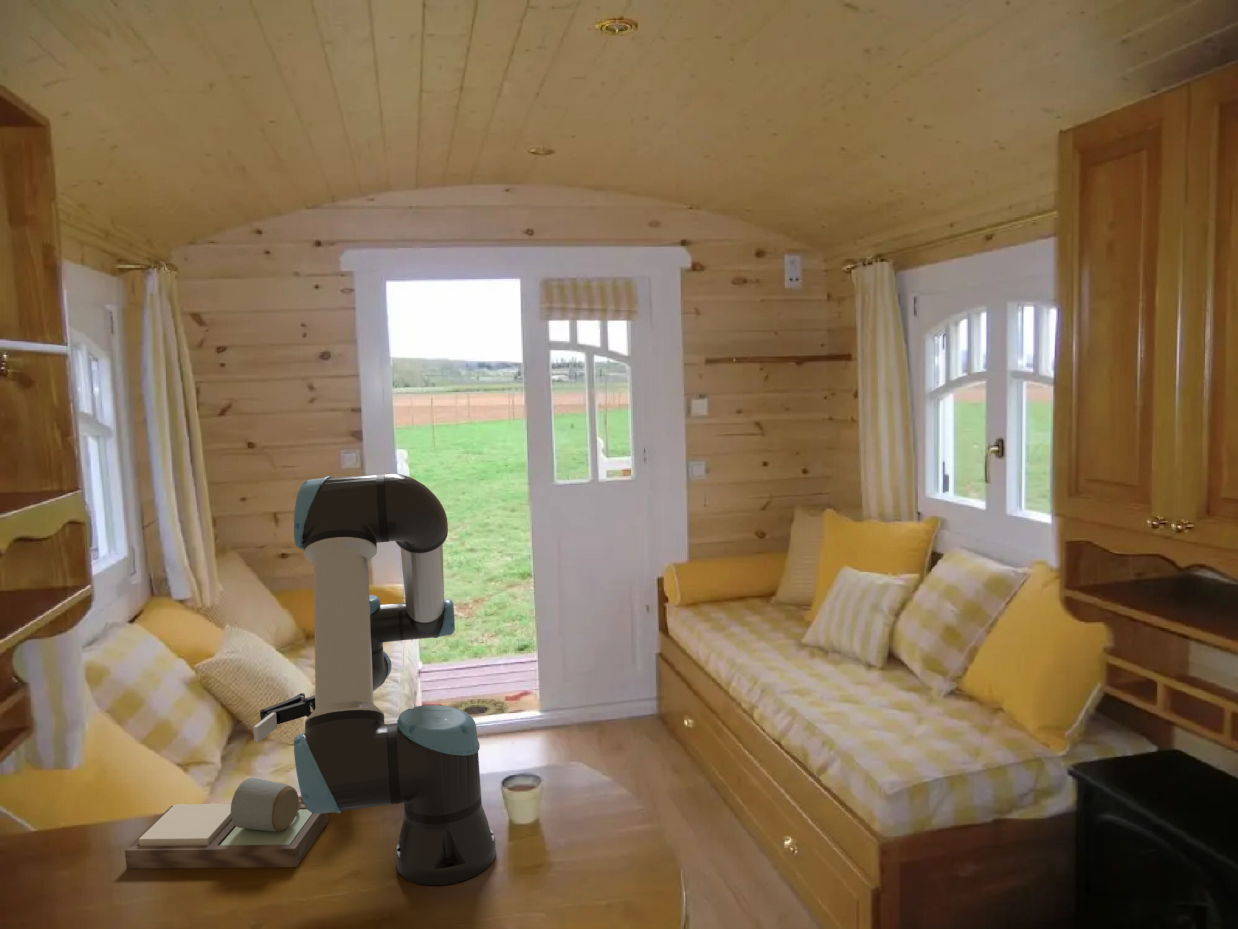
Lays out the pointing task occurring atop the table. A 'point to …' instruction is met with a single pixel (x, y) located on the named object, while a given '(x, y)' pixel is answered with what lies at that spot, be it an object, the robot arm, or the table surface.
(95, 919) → the table surface
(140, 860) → the key pad frame
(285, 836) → the sage key
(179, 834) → the cream key
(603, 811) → the table surface
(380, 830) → the table surface
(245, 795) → the ceramic mug
